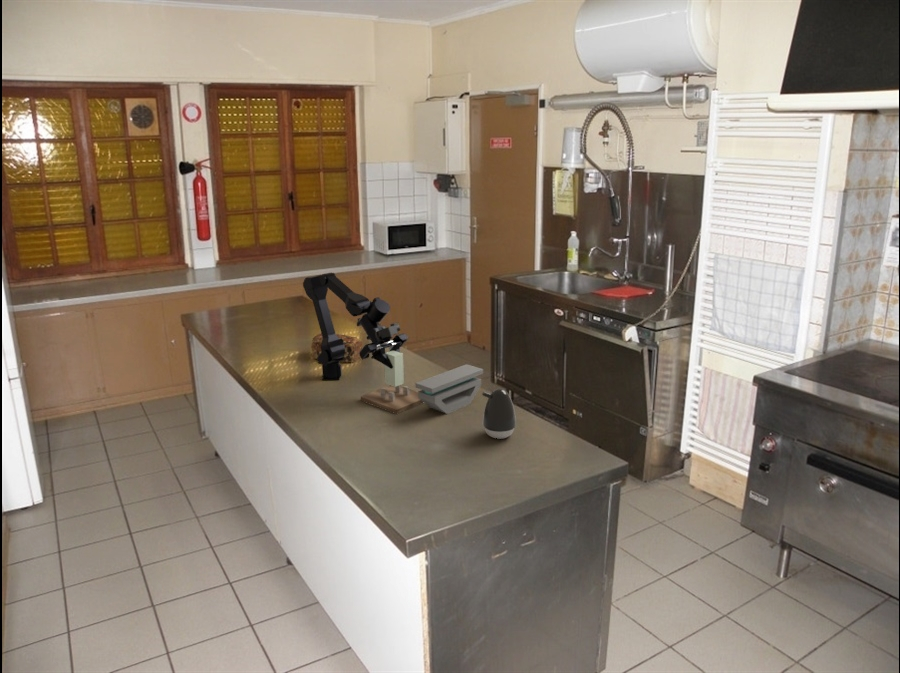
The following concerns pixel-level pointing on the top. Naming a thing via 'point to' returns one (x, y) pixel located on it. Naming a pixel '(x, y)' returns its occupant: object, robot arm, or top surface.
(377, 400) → the tan board with pegs
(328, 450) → the top surface
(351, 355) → the bread
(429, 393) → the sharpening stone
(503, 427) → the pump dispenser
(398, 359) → the pale panelled upright block
